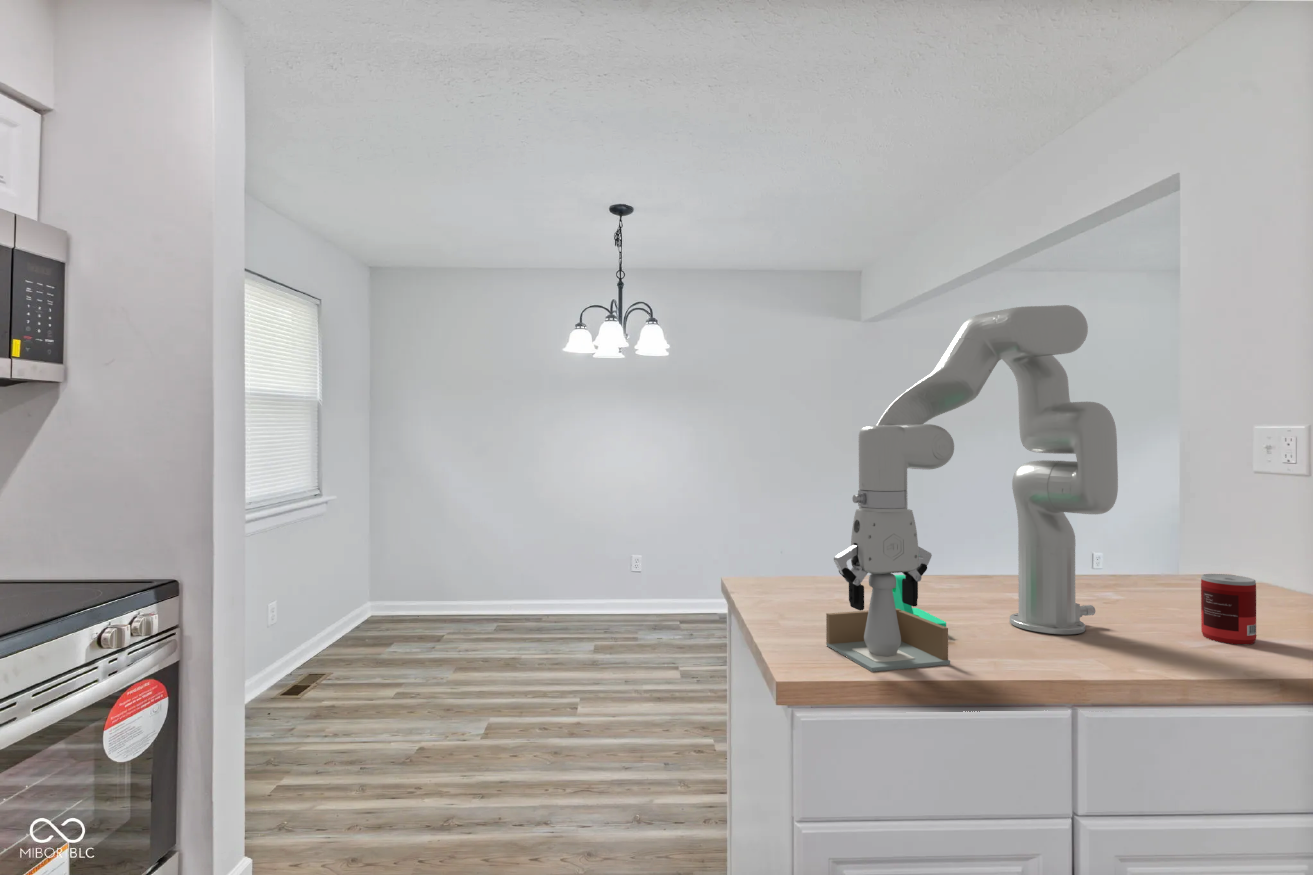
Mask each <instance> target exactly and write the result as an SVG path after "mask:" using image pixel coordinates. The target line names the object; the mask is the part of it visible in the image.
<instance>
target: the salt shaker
mask: <svg viewBox="0 0 1313 875" xmlns="http://www.w3.org/2000/svg"><path fill="white" fill-rule="evenodd" d="M895 575H896V574H895V573H883V574H871V573H869V576H868V585H869V587H871V588H872V589H871V594H870V600H869V605H868V606H869V607H868V610H869V611H868V610H867V611H868V617H867V622H866V628H865V633H864V641H865V643H866V646H867V648H868V651H869V653H872V654H874V655H876V656H885V657H889V656H894V655H896V653H897V651H898V649H899V646H900V644H901V635H900V630H899V625H898V620H897V614H896V608H895V603H894V597H893V591H892V589H893V588H895V587H896V577H895Z"/></svg>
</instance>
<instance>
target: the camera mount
mask: <svg viewBox="0 0 1313 875" xmlns="http://www.w3.org/2000/svg"><path fill="white" fill-rule="evenodd" d="M894 575H895V577H896V587H895V588H893V589H892V591H893V597H894V603H895V608H896V609H900V610H901V611H905V612H908V613H911V614H913V615H916V616H918V617H921V618H924V619H926V620H929V621H931V622H934V623H936V624H939V625H942V626H944V627H947V621H945V620H943V619H941V618H939V617H936V616H934V615H933V614H931V613H929V612H927V611H925V610H923V609H921V608H918V607H913V606H911V605H908V604H905V603H903V602H902V580H903V579H904V578H906V577H905V576H904V574H894Z"/></svg>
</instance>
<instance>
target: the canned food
mask: <svg viewBox="0 0 1313 875" xmlns="http://www.w3.org/2000/svg"><path fill="white" fill-rule="evenodd" d="M1200 576H1201V578H1200V605H1201V606H1200V613H1201V614H1200V616H1201V617H1200V620H1201V621H1200V622H1201V624H1200V625H1201V626H1200V627H1201V628H1200V629H1201V633H1202V636H1203V637H1204V638H1205V637H1206V639H1207V638H1209V639H1208V640H1210V639H1211V640H1210V641H1213V640H1215V641H1214V642H1217V641H1218V643H1222V642H1224V643H1223V644H1228V643H1229V644H1230V645H1237V644H1249V645H1253V644H1255V642H1256V639H1257V582H1256V581H1257V580H1255V579H1254V578H1251V577H1248V576H1243V575H1236V574H1235V575H1233V574H1226V573H1205V574H1204V573H1203V574H1201V575H1200Z"/></svg>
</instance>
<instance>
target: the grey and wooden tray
mask: <svg viewBox="0 0 1313 875" xmlns="http://www.w3.org/2000/svg"><path fill="white" fill-rule="evenodd" d="M868 611H869V609H868V610H857V611H842V612H841V611H840V612H826V613H825V614H826V618H825V619H826V620H825V621H826V626H825V627H826V631H825V632H826V634H825V635H826V643H825V644H826V645H827V646H828V648H829V647H831V648H832V649H831V648H830V649H831V650H833V649H834V650H835V651H834V650H833V651H834V652H836V651H838V652H839V653H838V652H837V653H838V654H840V653H841V654H840V655H842V654H843V655H844V656H843V655H842V656H843V657H845V656H847V657H848V658H847V657H846V658H847V659H849V658H850V659H851V661H852V660H853V661H852V662H854V661H855V662H854V663H856V664H857V663H858V665H859V666H861V667H863V668H865V669H866V670H868V671H870V672H881V671H882V672H883V671H893V670H902V669H903V670H905V669H915V668H924V667H925V668H926V667H938V666H946V665H951V660H950V659H949V627H947V626H946V627H944V626H942V625H939V624H936V623H934V622H931V621H929V620H926V619H924V618H921V617H918V616H916V615H913V614H911V613H908V612H905V611H901V610H900V609H896V614H897V620H898V625H899V630H900V635H901V644H900V646H899V649H898V651H897V653H896V655H894V656H889V657H885V656H876V655H874V654H872V653H869V651H868V648H867V646H866V643H865V641H864V633H865V628H866V622H867V617H868ZM827 646H826V647H827ZM850 659H849V660H850Z"/></svg>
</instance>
